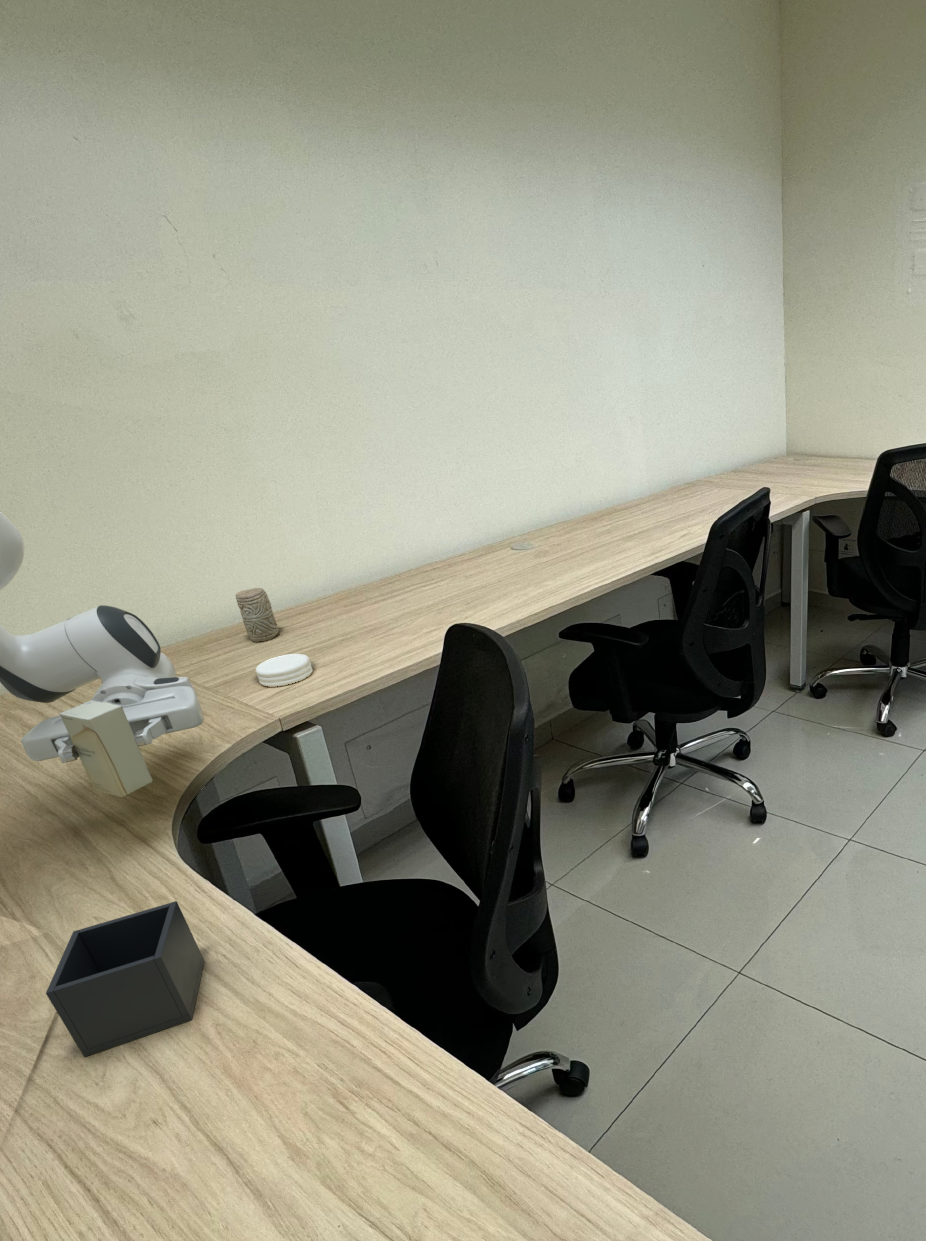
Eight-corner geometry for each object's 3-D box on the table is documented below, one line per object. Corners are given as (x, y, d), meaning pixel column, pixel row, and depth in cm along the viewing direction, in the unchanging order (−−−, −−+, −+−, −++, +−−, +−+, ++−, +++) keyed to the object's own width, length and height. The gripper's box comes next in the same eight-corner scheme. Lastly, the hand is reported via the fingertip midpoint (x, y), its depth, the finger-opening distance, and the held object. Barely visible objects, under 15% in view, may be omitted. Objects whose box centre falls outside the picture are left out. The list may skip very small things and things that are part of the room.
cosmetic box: (93, 791, 104) (55, 713, 99) (126, 774, 108) (91, 698, 103) (124, 798, 102) (86, 719, 97) (156, 780, 106) (122, 704, 101)
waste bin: (83, 1057, 75) (45, 993, 71) (106, 992, 83) (72, 931, 79) (192, 1020, 79) (160, 956, 75) (204, 960, 86) (176, 900, 82)
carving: (245, 645, 178) (228, 597, 173) (256, 634, 184) (240, 587, 179) (274, 641, 179) (258, 594, 174) (284, 630, 185) (269, 584, 180)
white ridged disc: (310, 663, 165) (305, 648, 164) (315, 678, 158) (311, 663, 156) (258, 676, 160) (253, 661, 159) (261, 692, 153) (255, 676, 151)
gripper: (31, 706, 108) (-4, 748, 96) (199, 673, 116) (185, 709, 104) (50, 744, 110) (18, 790, 99) (213, 710, 118) (200, 749, 107)
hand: (105, 748), depth 102 cm, fingers closed on cosmetic box, 7 cm apart
